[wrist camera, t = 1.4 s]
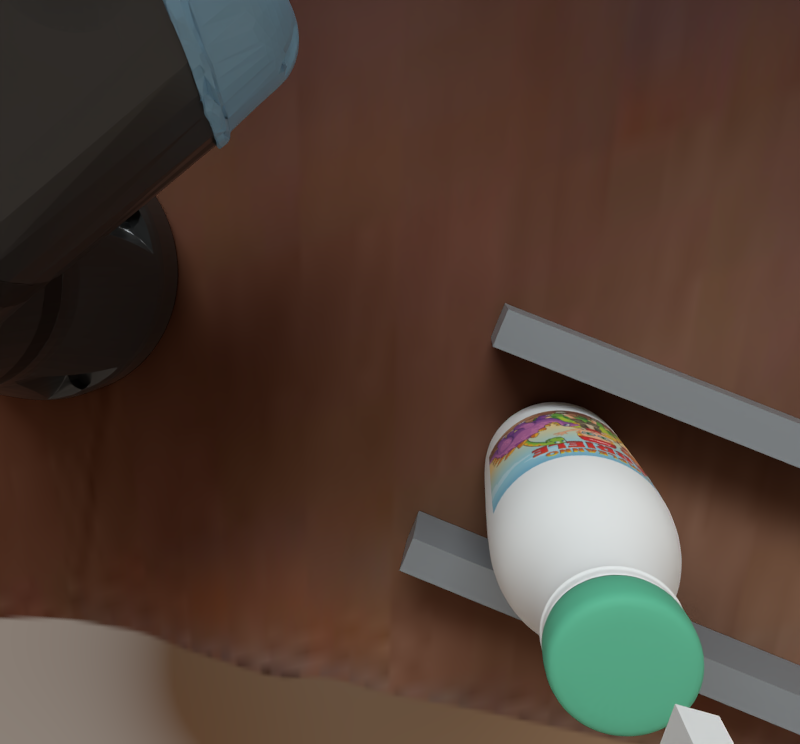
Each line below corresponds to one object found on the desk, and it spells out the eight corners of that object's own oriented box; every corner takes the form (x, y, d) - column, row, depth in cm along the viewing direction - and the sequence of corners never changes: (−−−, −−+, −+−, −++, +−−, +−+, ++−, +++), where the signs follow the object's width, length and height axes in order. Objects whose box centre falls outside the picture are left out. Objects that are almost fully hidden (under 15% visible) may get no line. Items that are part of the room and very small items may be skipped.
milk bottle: (618, 533, 40) (752, 801, 21) (481, 526, 41) (487, 778, 21) (627, 401, 39) (780, 553, 19) (486, 396, 40) (496, 538, 20)
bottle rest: (406, 540, 42) (399, 570, 38) (504, 303, 39) (508, 309, 35) (809, 704, 41) (844, 753, 37) (940, 474, 38) (994, 500, 34)
